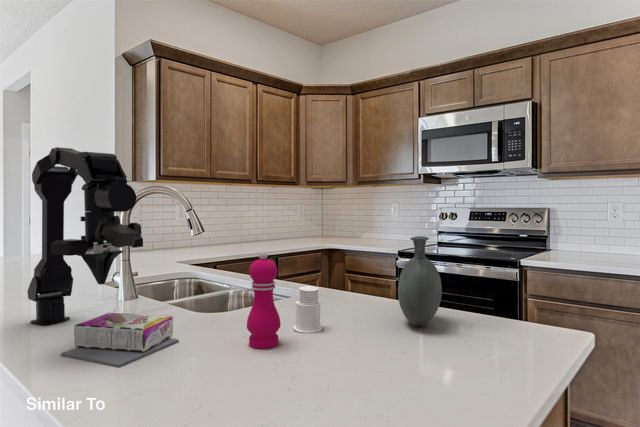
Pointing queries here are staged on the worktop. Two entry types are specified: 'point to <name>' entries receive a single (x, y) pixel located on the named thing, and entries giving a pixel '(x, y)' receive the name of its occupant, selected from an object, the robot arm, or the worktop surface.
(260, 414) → the worktop surface
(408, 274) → the flask
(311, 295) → the downlight
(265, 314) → the pepper mill
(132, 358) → the mat
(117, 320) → the candy bar box
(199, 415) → the worktop surface
